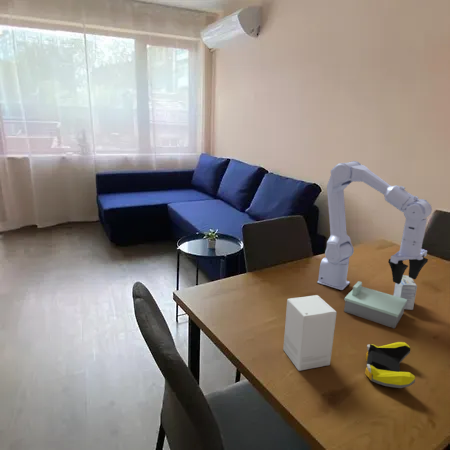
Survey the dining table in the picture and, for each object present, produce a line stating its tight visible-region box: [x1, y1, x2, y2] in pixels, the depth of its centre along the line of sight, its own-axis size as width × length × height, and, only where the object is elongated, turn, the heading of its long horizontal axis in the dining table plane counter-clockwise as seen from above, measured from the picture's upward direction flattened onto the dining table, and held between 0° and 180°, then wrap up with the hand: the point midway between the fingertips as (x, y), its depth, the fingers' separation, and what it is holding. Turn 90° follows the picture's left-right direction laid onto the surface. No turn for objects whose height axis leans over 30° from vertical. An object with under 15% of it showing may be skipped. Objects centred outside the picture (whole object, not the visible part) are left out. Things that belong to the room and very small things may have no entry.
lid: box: [344, 281, 407, 317], centre depth 113 cm, size 16×12×5 cm
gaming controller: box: [364, 341, 416, 389], centre depth 87 cm, size 15×6×10 cm
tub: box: [343, 300, 405, 329], centre depth 114 cm, size 15×11×4 cm
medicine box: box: [392, 274, 418, 311], centre depth 120 cm, size 8×4×9 cm, turn 168°
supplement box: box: [283, 294, 337, 372], centre depth 91 cm, size 9×9×15 cm
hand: (404, 280), depth 115 cm, fingers open, 7 cm apart
